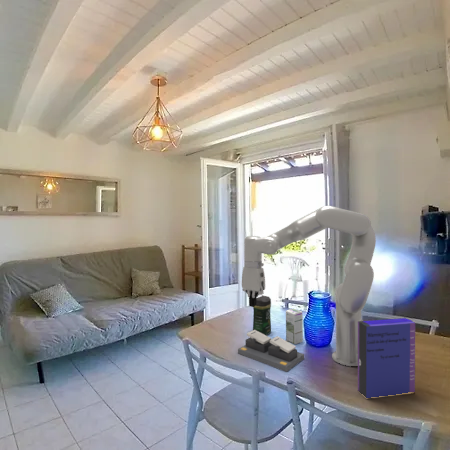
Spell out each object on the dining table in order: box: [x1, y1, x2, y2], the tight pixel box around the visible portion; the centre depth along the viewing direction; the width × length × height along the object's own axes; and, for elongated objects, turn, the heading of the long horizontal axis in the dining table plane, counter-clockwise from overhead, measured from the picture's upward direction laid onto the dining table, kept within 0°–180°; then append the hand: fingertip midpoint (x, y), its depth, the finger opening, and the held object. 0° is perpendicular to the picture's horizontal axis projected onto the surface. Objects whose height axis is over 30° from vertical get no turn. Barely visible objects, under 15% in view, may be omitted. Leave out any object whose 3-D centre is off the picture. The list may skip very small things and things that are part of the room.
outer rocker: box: [246, 329, 272, 344], centre depth 134 cm, size 9×6×1 cm, turn 48°
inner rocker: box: [270, 335, 297, 353], centre depth 126 cm, size 9×6×1 cm, turn 48°
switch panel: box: [237, 334, 305, 373], centre depth 130 cm, size 24×14×7 cm, turn 48°
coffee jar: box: [252, 295, 272, 336], centre depth 155 cm, size 10×8×19 cm
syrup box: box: [285, 308, 304, 345], centre depth 145 cm, size 6×6×14 cm
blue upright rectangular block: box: [357, 317, 416, 398], centre depth 103 cm, size 17×5×24 cm, turn 99°
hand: (252, 305), depth 135 cm, fingers closed
